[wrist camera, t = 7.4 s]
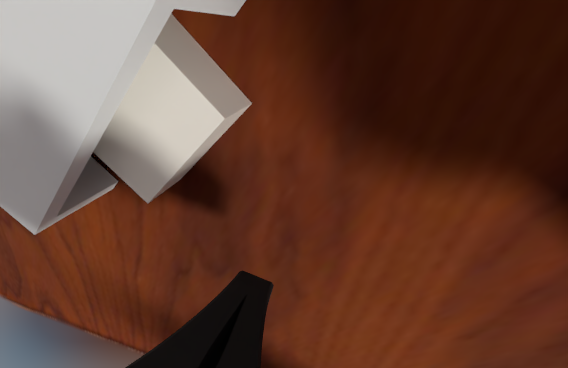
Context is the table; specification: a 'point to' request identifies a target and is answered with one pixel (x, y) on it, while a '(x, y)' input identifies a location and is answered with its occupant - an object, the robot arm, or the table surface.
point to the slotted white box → (69, 94)
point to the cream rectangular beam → (169, 114)
